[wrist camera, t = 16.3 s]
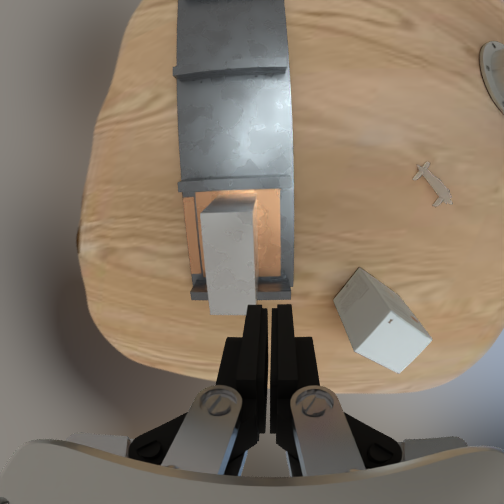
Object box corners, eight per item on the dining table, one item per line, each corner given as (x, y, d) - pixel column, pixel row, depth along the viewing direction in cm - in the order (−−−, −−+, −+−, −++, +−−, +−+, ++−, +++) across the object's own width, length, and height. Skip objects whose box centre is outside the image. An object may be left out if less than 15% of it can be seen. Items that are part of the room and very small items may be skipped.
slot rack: (281, -14, 22) (283, -30, 18) (292, 282, 34) (295, 299, 31) (181, -5, 22) (171, -19, 19) (195, 283, 35) (187, 299, 31)
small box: (331, 299, 35) (351, 351, 25) (359, 265, 33) (390, 309, 23) (373, 325, 36) (398, 376, 26) (399, 294, 34) (434, 340, 25)
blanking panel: (256, 193, 30) (252, 211, 21) (258, 272, 33) (256, 315, 24) (218, 194, 30) (200, 213, 21) (224, 272, 33) (210, 314, 25)
